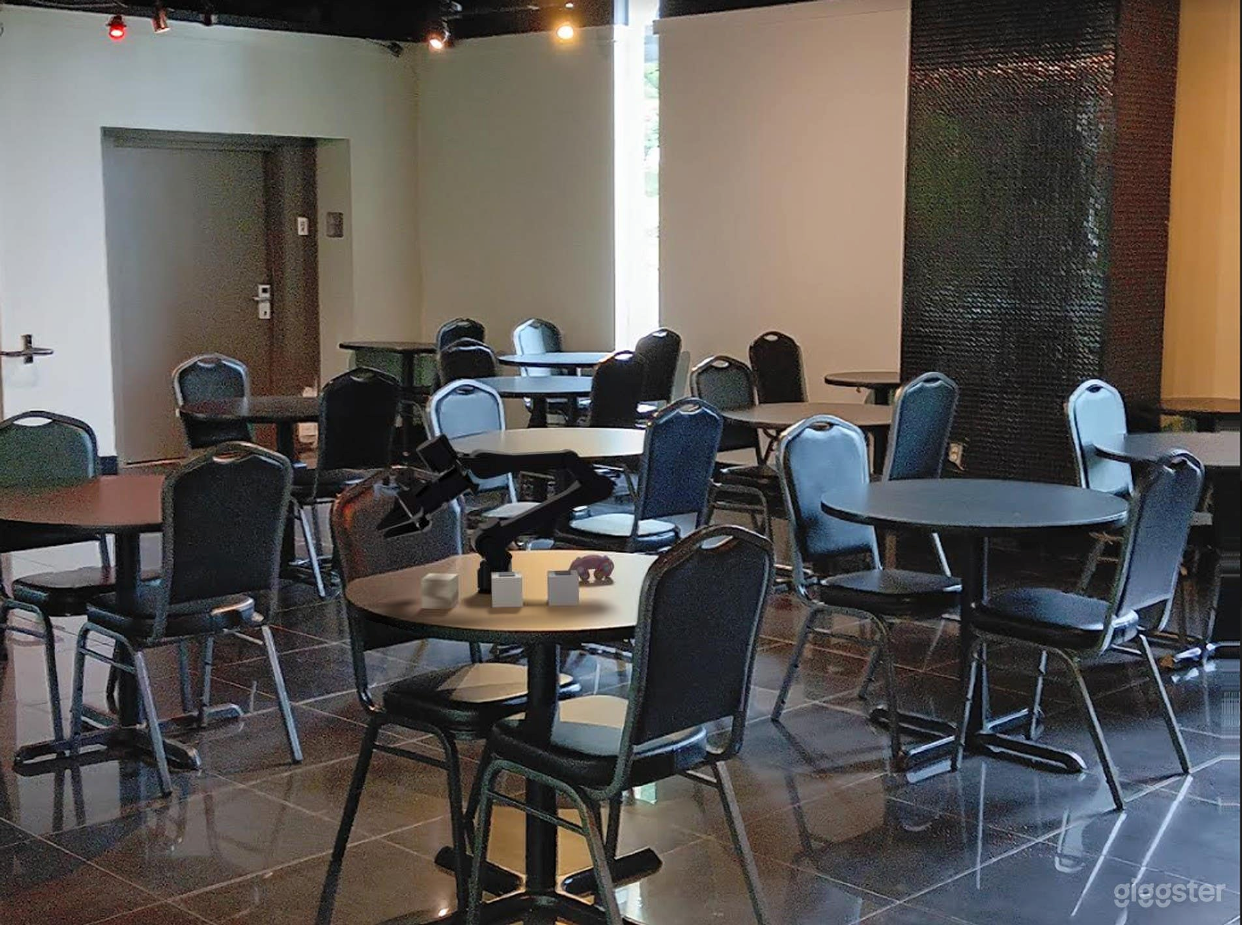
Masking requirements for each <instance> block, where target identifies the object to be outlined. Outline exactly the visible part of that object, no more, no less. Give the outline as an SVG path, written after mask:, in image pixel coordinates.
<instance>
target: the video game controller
mask: <svg viewBox="0 0 1242 925" xmlns="http://www.w3.org/2000/svg"><path fill="white" fill-rule="evenodd" d="M614 568H615V564H614V562H613V560H612V559H611V558H610V557H609V556H608V555H603V556H602V555H599V554H587V555H585V556H583V557H582V556H577V557H576V559H574V560H573V561H572V562H571V564H570V566H569V568H568V570H577V573H578V575H579V580H581V581H582V582H584V581H585V582H587V581H588V580H590V579H591V574H590V571H589V570H594V571H593V577H594V579H595V580H596V581H601V580H603V579H604V577H606V578H609V577H611V575H612V573H613V571H614V570H615V569H614Z"/></svg>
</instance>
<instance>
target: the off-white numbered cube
mask: <svg viewBox="0 0 1242 925" xmlns="http://www.w3.org/2000/svg"><path fill="white" fill-rule="evenodd" d="M491 575H492V593H491V604H492V605H491V606H492V608H510V607H511V608H514V607H517V608H518V607H519V608H520V607H524V605H523V575H522V572H521V571H512V572H491Z"/></svg>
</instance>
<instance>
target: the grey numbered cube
mask: <svg viewBox="0 0 1242 925" xmlns="http://www.w3.org/2000/svg"><path fill="white" fill-rule="evenodd" d="M546 574H547V575H546V576H547V578H546V580H547V581H546V582H547V588H546V589H547V592H546V593H547V603H548V605H549V606H550V607H551V606H579V605H580V577H579V575H578V573H577V570H569V569H568V570H564V569H563V570H547V571H546Z"/></svg>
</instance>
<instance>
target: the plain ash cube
mask: <svg viewBox="0 0 1242 925" xmlns="http://www.w3.org/2000/svg"><path fill="white" fill-rule="evenodd" d="M420 584H421V588H420V589H421V609H431V610H432V609H434V610H435V609H436V610H452V609H453V608H455V606H457V605H458V604H459V574H458V573H434V572H433V573H430V572H429V573H427V575H425V576H424V577H422V578H421V579H420Z"/></svg>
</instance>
